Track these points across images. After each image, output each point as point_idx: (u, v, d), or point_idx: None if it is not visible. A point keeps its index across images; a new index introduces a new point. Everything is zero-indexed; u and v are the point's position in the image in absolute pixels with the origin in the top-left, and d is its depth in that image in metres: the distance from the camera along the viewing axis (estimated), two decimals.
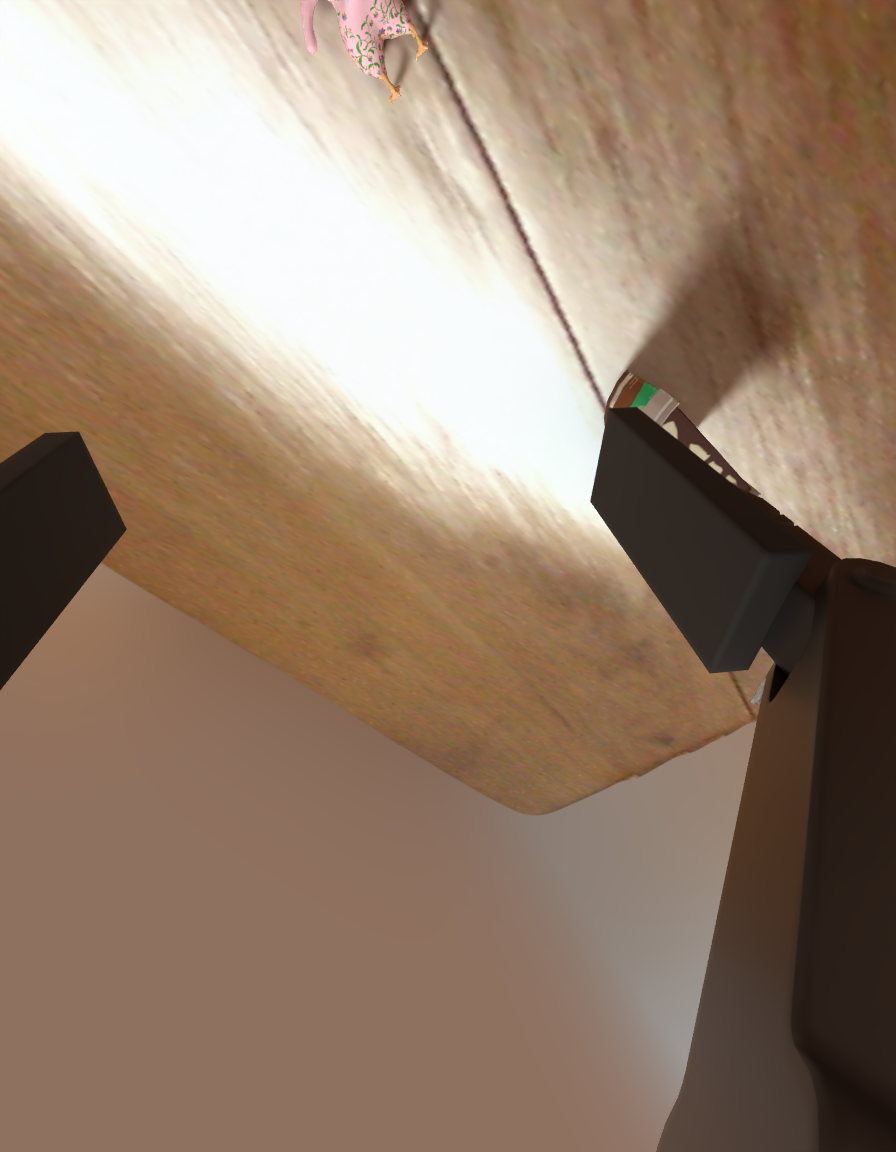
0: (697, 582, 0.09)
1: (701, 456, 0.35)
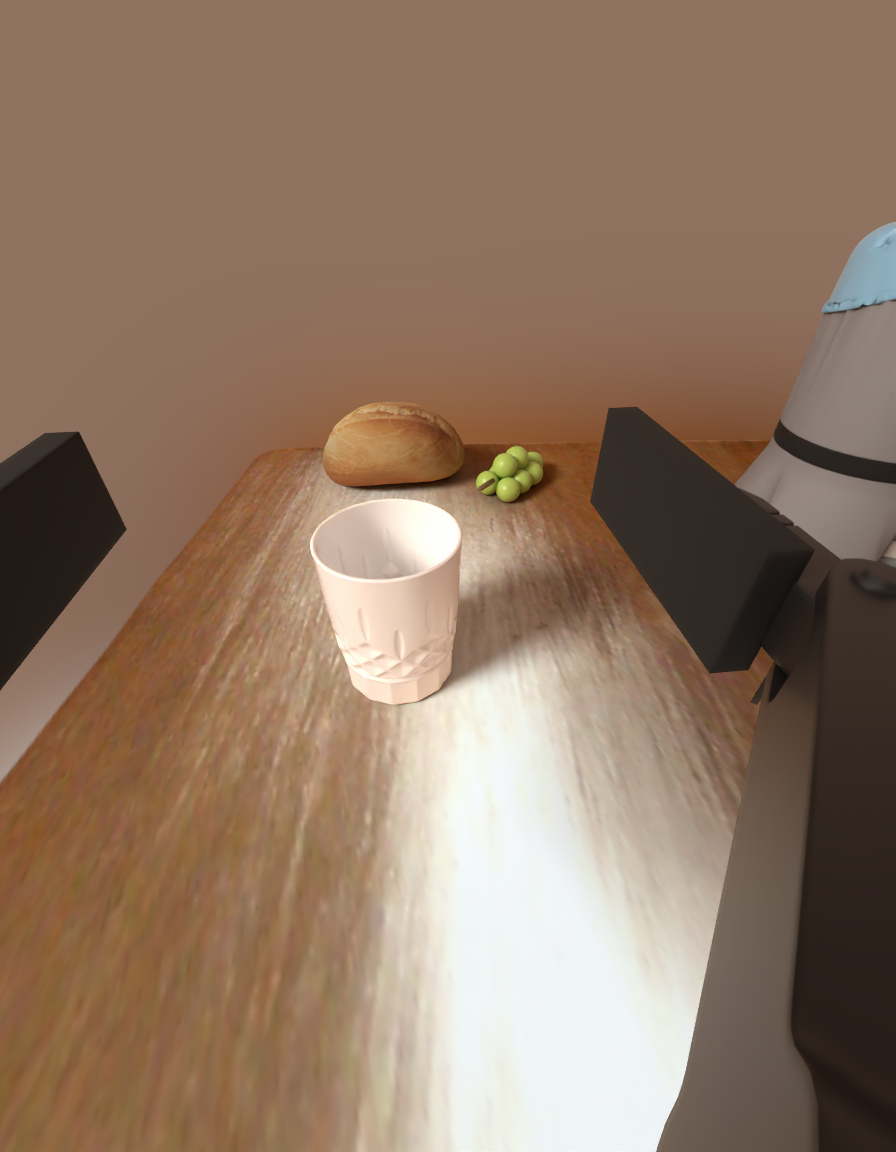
0: (697, 582, 0.09)
1: None
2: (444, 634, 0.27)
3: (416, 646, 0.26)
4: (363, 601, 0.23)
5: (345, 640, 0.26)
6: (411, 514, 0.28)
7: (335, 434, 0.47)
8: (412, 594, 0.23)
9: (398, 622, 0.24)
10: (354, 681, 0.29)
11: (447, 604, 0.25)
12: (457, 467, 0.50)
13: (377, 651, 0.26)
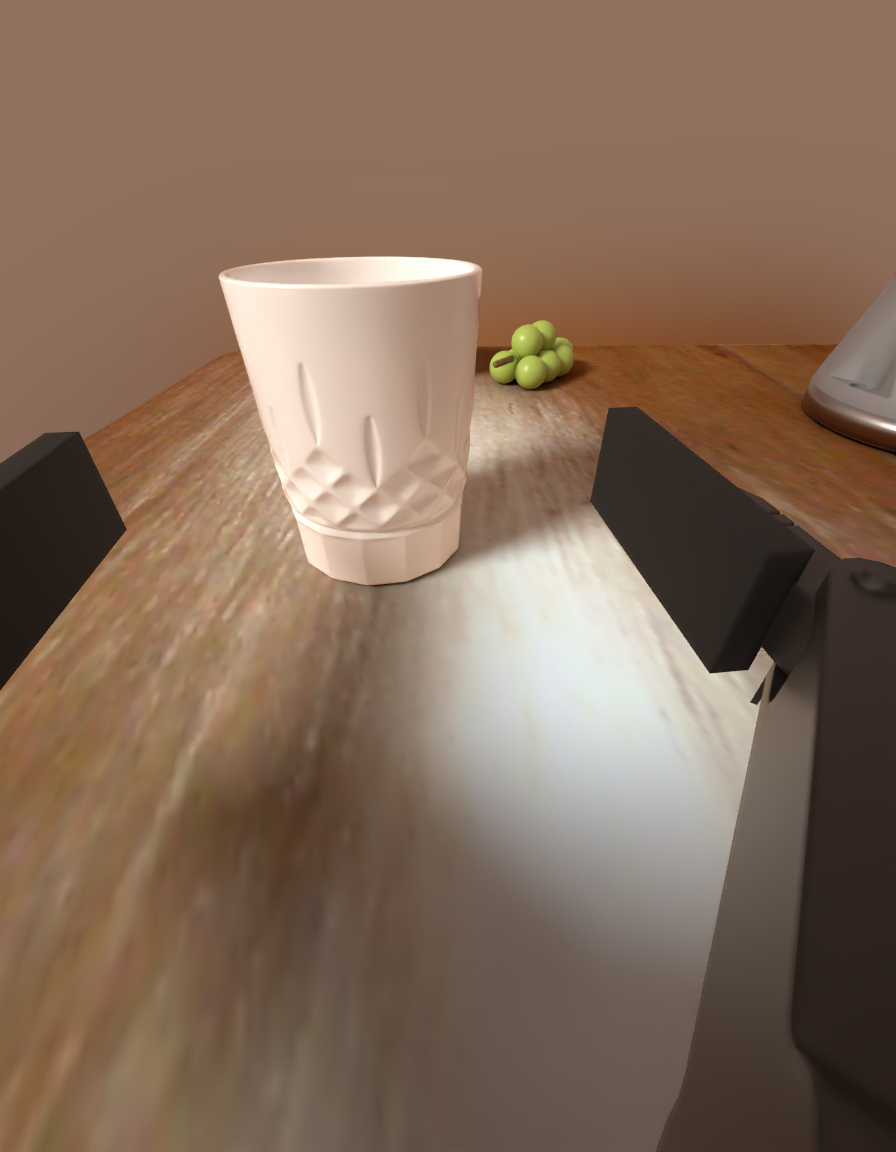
0: (697, 582, 0.09)
1: None
2: (449, 454, 0.16)
3: (403, 461, 0.15)
4: (304, 343, 0.13)
5: (286, 459, 0.16)
6: None
7: None
8: (393, 330, 0.13)
9: (370, 398, 0.14)
10: (308, 551, 0.19)
11: (455, 388, 0.15)
12: None
13: (335, 469, 0.15)
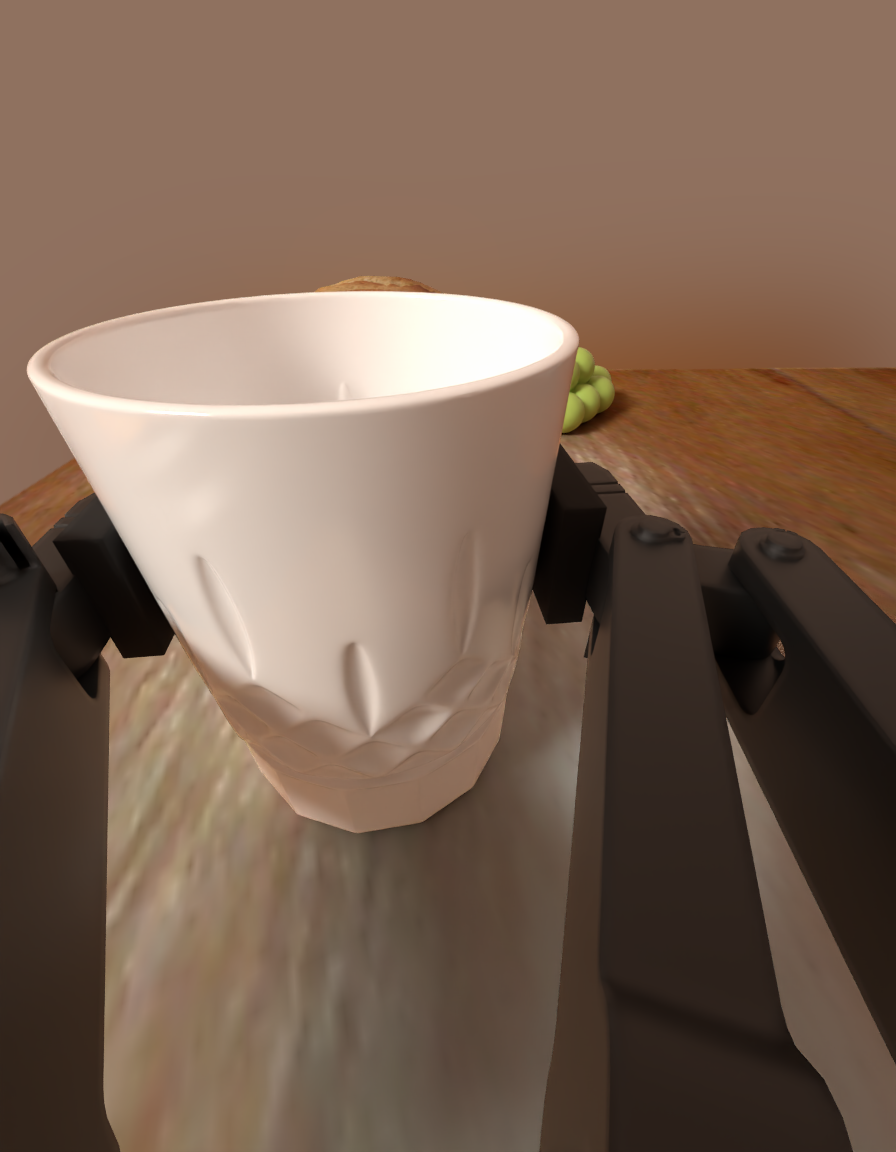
0: None
1: None
2: (502, 653, 0.09)
3: (420, 694, 0.08)
4: (200, 523, 0.05)
5: None
6: (408, 335, 0.11)
7: None
8: (406, 494, 0.05)
9: (353, 616, 0.06)
10: (261, 767, 0.12)
11: (522, 558, 0.08)
12: None
13: (292, 709, 0.08)
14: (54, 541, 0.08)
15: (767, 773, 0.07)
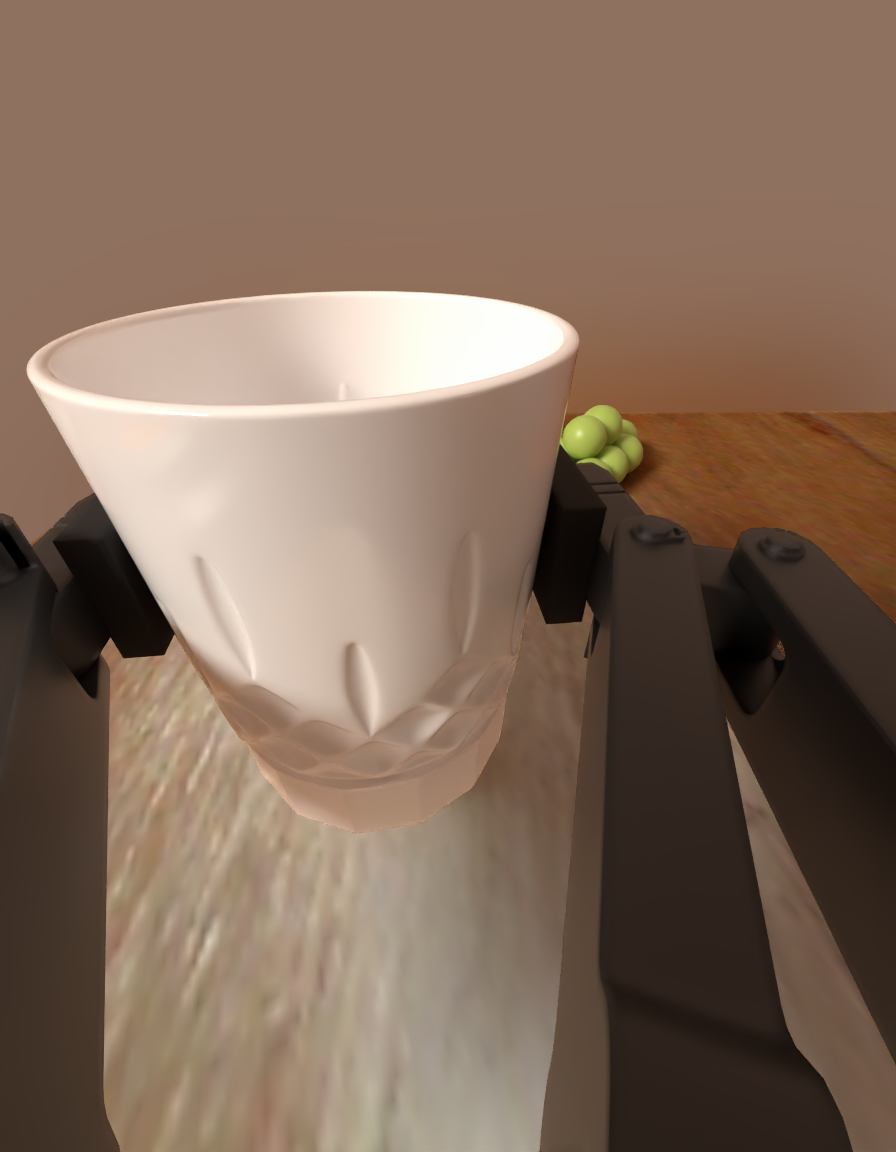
0: None
1: None
2: (502, 654, 0.09)
3: (421, 695, 0.08)
4: (199, 523, 0.05)
5: None
6: (409, 336, 0.11)
7: None
8: (406, 494, 0.05)
9: (353, 616, 0.06)
10: (261, 767, 0.12)
11: (522, 558, 0.08)
12: None
13: (292, 709, 0.08)
14: (55, 541, 0.08)
15: (767, 773, 0.07)
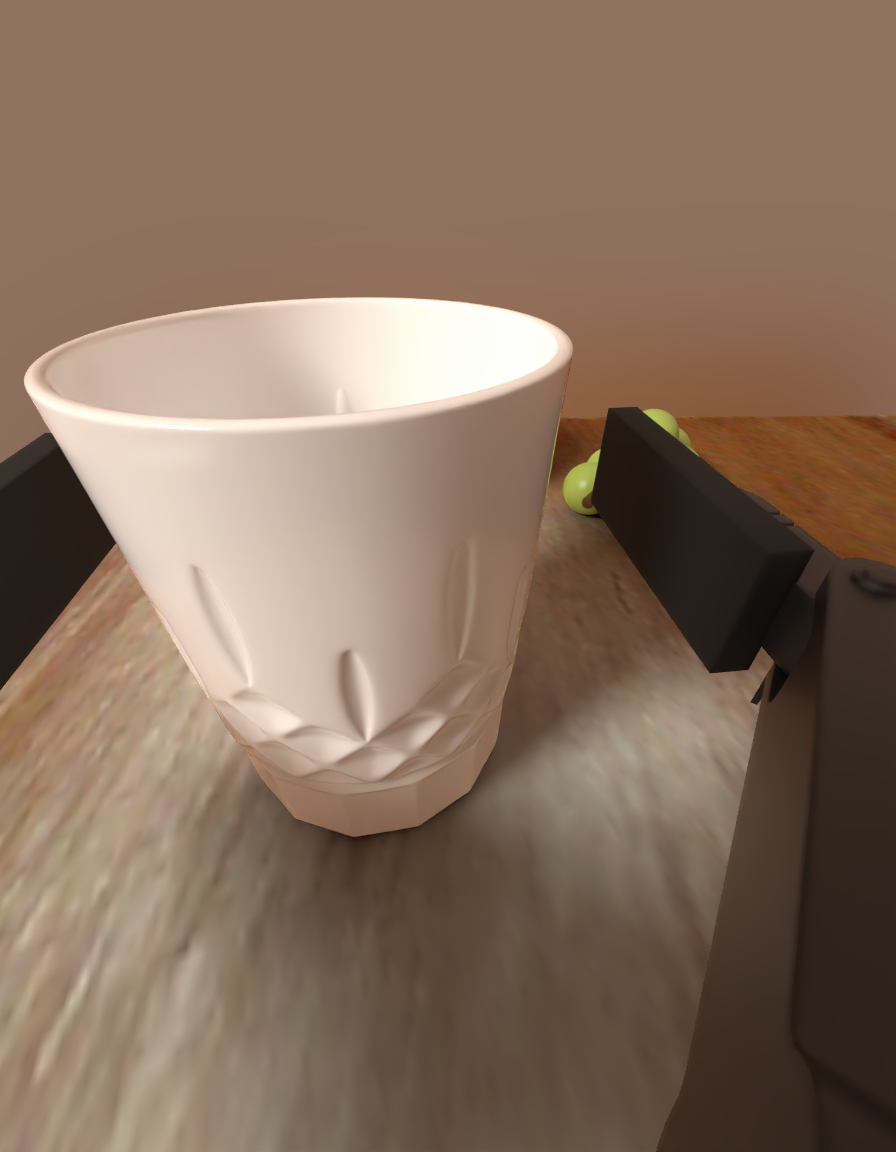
0: (697, 582, 0.09)
1: None
2: (498, 659, 0.09)
3: (416, 701, 0.08)
4: (195, 533, 0.06)
5: None
6: (405, 342, 0.11)
7: None
8: (400, 505, 0.06)
9: (349, 624, 0.06)
10: (258, 771, 0.12)
11: (517, 565, 0.08)
12: None
13: (288, 715, 0.08)
14: None
15: None
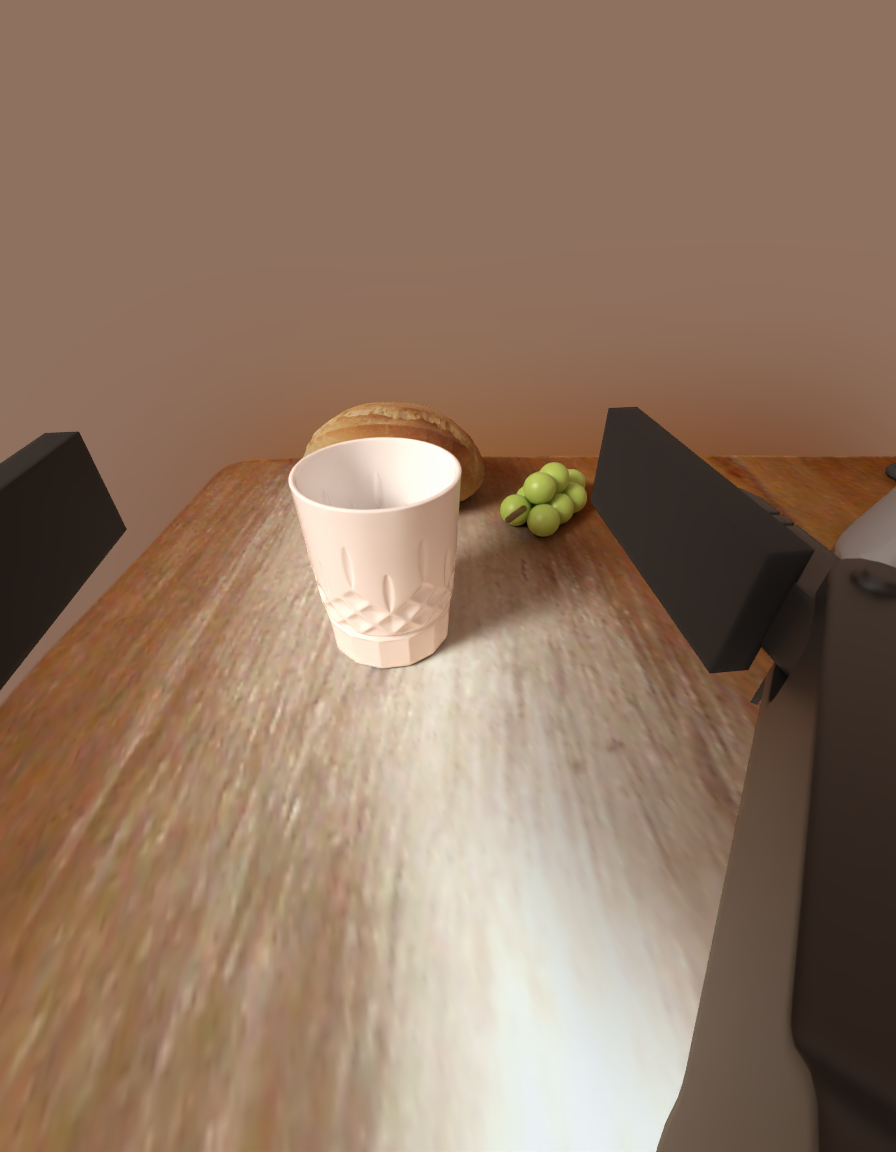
0: (697, 582, 0.09)
1: None
2: (440, 585, 0.24)
3: (408, 596, 0.22)
4: (347, 537, 0.20)
5: (328, 590, 0.23)
6: (405, 455, 0.26)
7: (314, 445, 0.35)
8: (403, 530, 0.20)
9: (387, 565, 0.21)
10: (339, 642, 0.26)
11: (443, 549, 0.22)
12: (475, 488, 0.38)
13: (363, 601, 0.23)
14: None
15: None
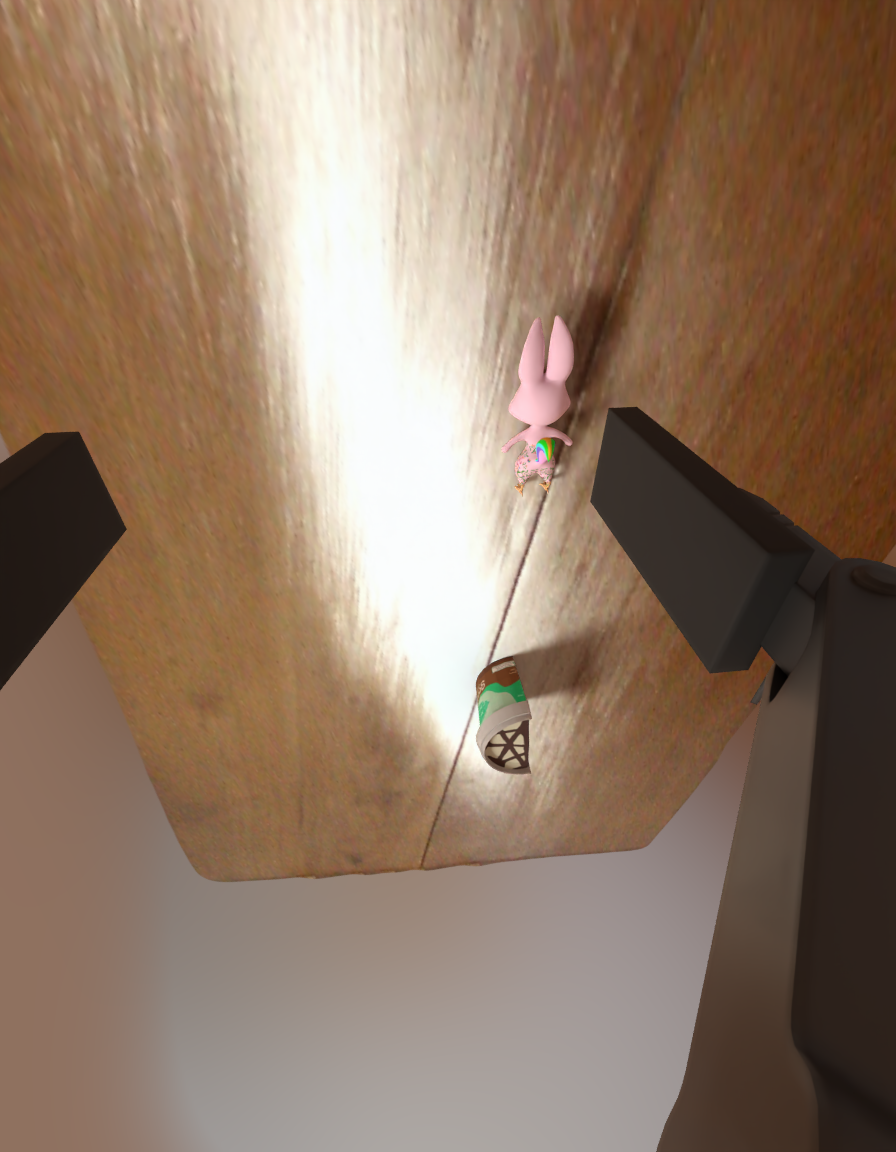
0: (697, 582, 0.09)
1: (520, 742, 0.56)
2: None
3: None
4: None
5: None
6: None
7: None
8: None
9: None
10: None
11: None
12: None
13: None
14: None
15: None
